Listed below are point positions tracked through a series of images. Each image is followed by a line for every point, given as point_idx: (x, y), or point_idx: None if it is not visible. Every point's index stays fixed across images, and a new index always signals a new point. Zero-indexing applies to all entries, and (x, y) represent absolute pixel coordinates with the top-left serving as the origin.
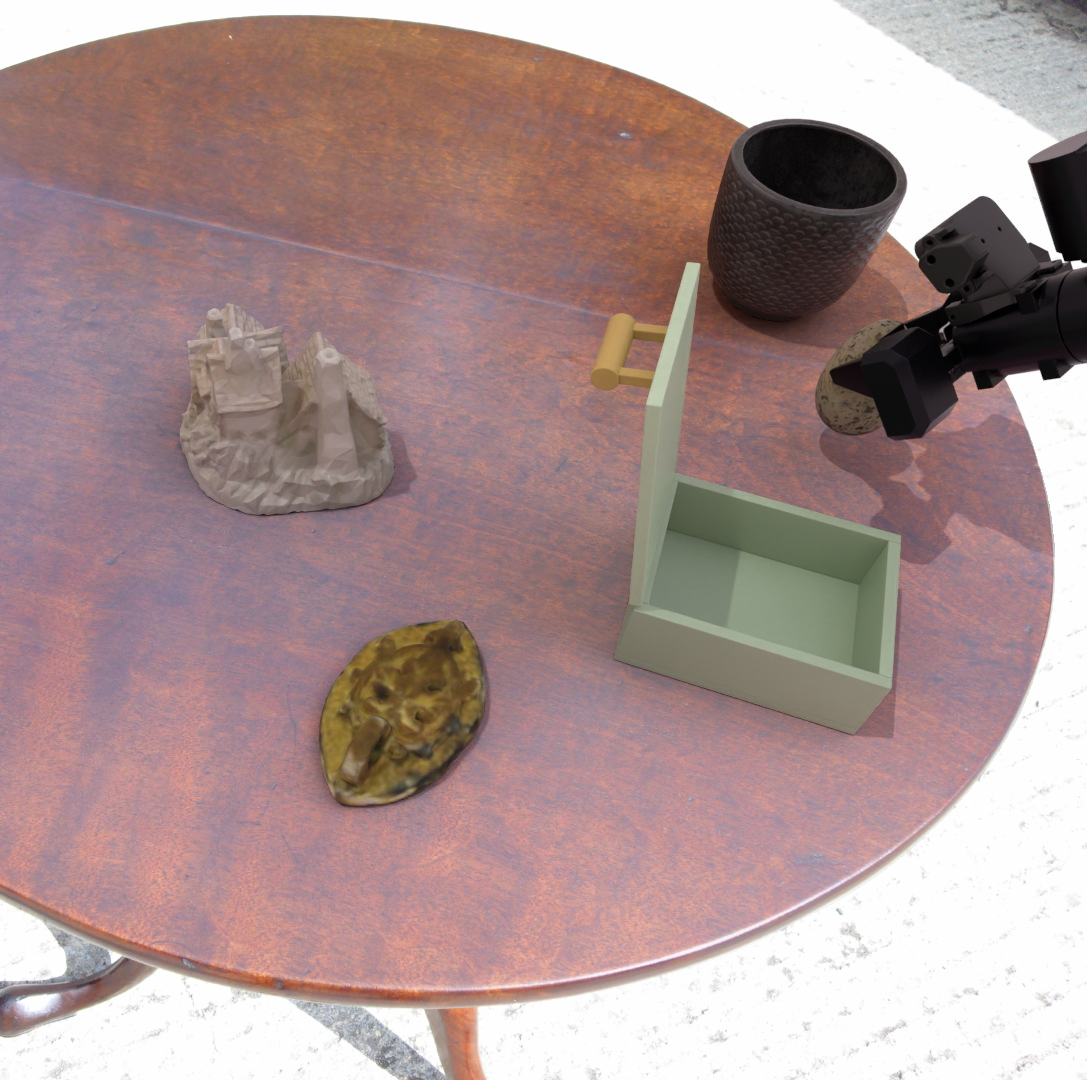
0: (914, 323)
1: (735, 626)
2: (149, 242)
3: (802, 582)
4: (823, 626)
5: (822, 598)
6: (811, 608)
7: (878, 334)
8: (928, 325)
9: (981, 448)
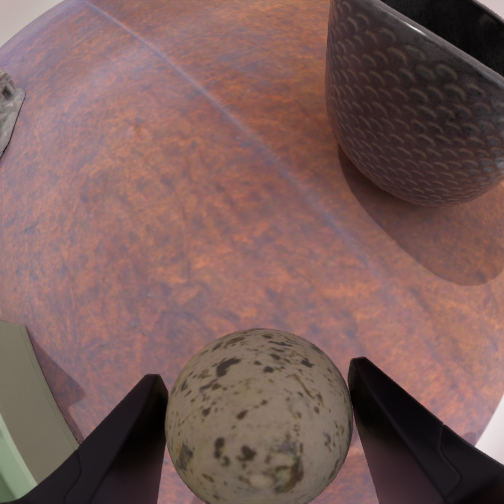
0: (398, 442)
1: (6, 442)
2: (77, 21)
3: None
4: None
5: None
6: None
7: (188, 451)
8: (409, 478)
9: None
